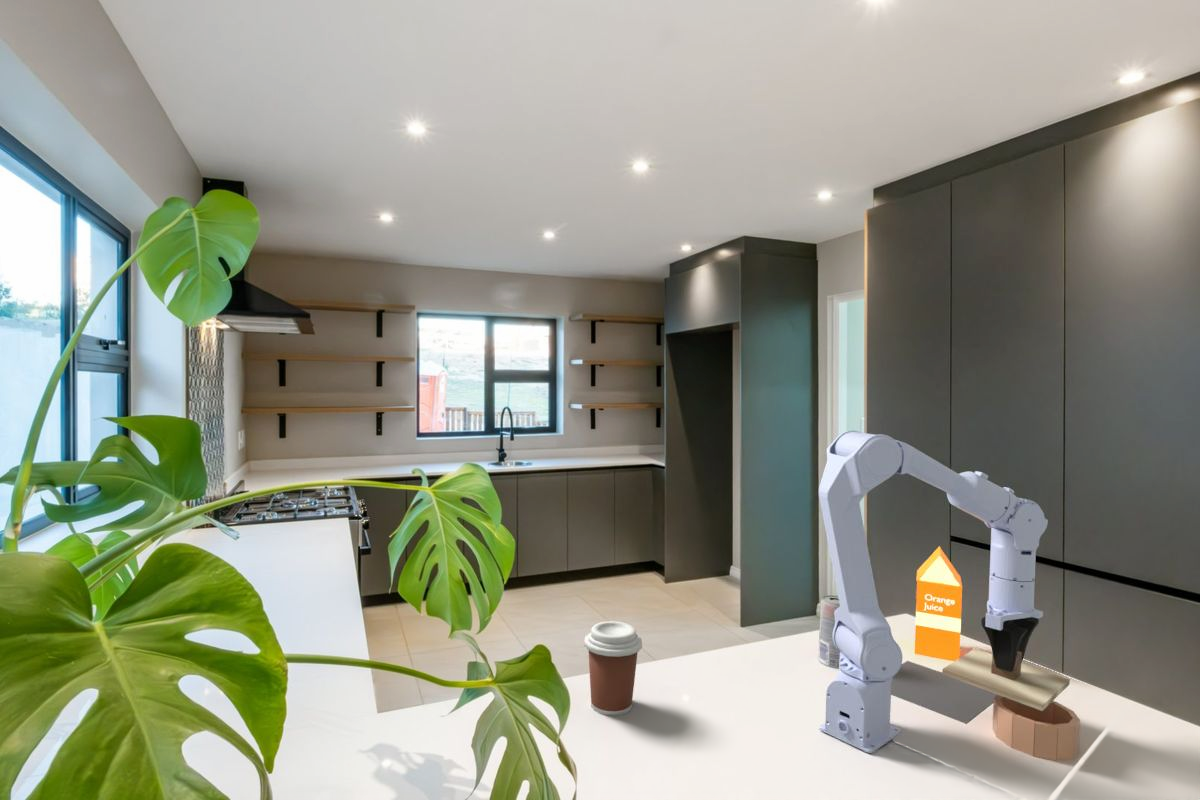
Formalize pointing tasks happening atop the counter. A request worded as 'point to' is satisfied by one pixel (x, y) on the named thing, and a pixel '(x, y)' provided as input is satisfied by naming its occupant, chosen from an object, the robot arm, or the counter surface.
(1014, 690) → the lid
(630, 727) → the counter surface
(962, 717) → the mat
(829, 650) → the energy drink
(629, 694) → the coffee cup
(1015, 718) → the bowl
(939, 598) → the orange juice
